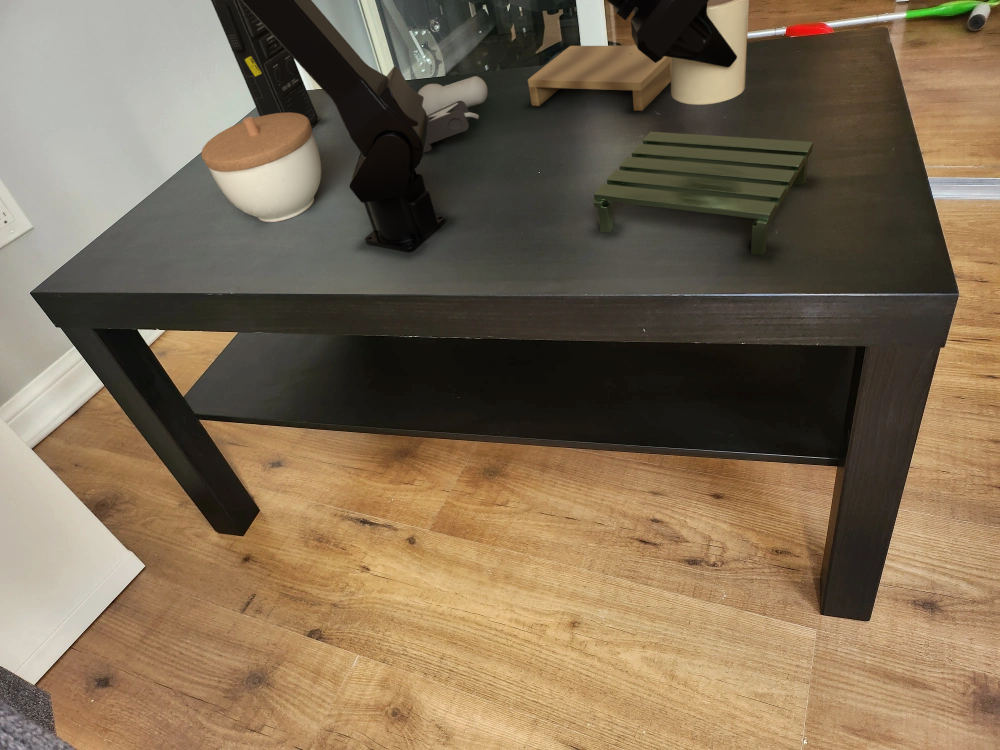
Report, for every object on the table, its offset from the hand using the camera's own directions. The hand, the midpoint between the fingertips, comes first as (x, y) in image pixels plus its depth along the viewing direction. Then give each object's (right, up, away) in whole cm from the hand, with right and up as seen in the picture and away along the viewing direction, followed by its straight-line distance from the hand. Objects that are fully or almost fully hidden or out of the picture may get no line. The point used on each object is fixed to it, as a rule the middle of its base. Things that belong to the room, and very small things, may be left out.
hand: (723, 49), depth 63 cm
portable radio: (-51, +7, +42) cm, 66 cm away
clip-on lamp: (-30, +3, +32) cm, 44 cm away
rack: (0, -13, +5) cm, 14 cm away
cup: (-1, -3, +2) cm, 4 cm away
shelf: (-6, +9, +31) cm, 33 cm away
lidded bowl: (-46, -9, +23) cm, 52 cm away
